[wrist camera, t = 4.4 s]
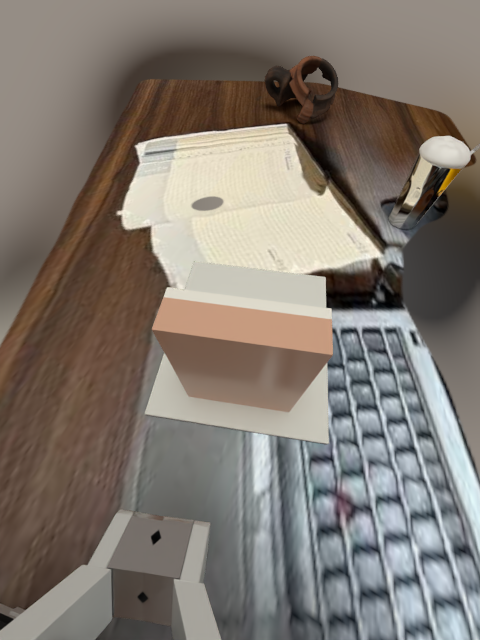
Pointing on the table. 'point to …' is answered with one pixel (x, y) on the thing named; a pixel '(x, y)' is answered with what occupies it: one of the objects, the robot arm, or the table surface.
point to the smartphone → (8, 615)
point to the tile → (243, 347)
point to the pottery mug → (302, 86)
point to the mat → (297, 424)
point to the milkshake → (429, 178)
